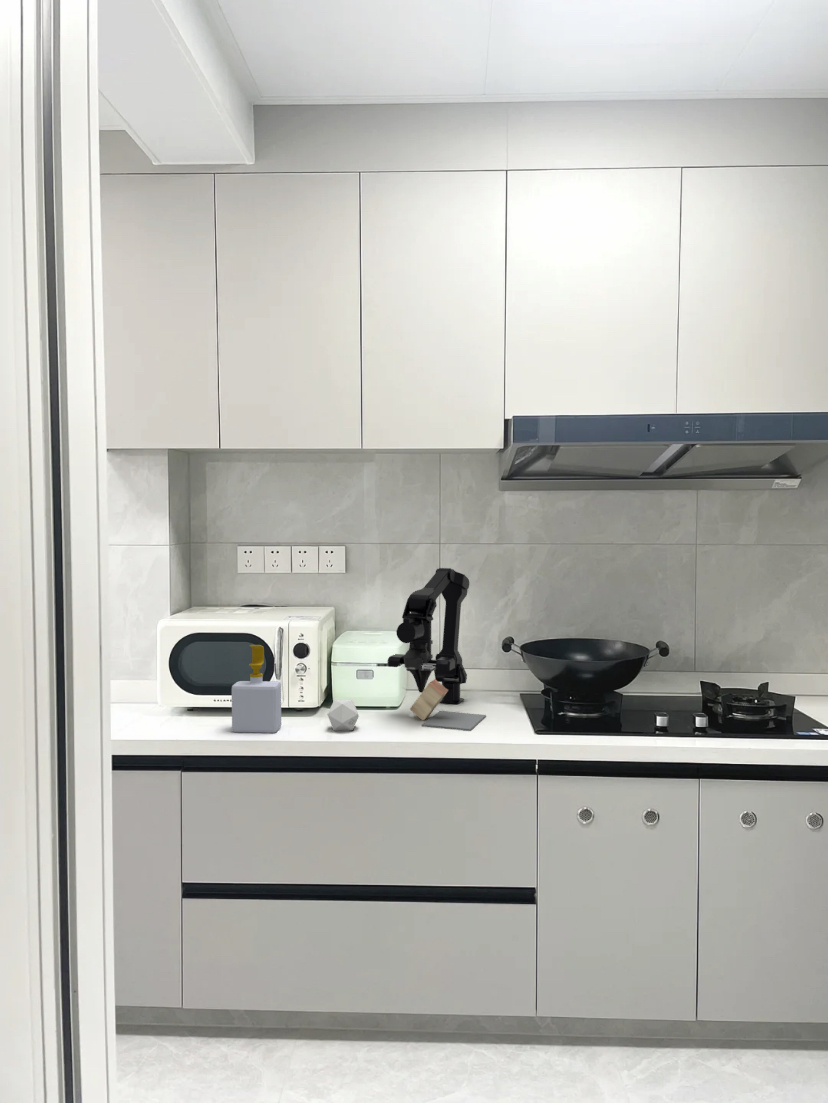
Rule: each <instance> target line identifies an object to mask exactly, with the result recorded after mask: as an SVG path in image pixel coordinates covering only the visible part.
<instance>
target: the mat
mask: <svg viewBox="0 0 828 1105" xmlns="http://www.w3.org/2000/svg"><path fill="white" fill-rule="evenodd" d="M486 717H487V715H486V714H479V713H471V712H470V713H469V712H457V711H447V710H446V711H445V710H439V711H437V712H436V713H435V714H434V715H432V716H431V717H428V718H427V720H424V722H422V723H421V727H425V728H436V729H437V728H438V729H444V730H445V729H448V730H456V731H457V730H458V731H466V732H467V731H468V732H471V731H472V730H473V729H475V728H476V727H477V726H478V725H479V724H480V723H481V722H482V721H483V720H484V719H485V718H486Z"/></svg>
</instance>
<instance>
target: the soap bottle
mask: <svg viewBox="0 0 828 1105" xmlns="http://www.w3.org/2000/svg"><path fill="white" fill-rule="evenodd" d="M249 647H250V648H251V652H252V655H251V657H252V658H251V663H249V664H248V666H249V667H250V668H251V669H252V672H251V673H250V674H249V679H250V680H240V681H237V682H235V683H234V684H232V686H231V730H232V732H233V733H254V734H255V733H264V734H268V733H269V734H273V733H274V734H275V733H277V732H278V731H279V730H280V728H282V684H281V682H280V681H266V680H265V681H263V677H264V674H263V673H262V672H260V669H262V667H263V666H262V665H264V664H265V648H264V646H263V645H261V644H249Z"/></svg>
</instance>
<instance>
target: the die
mask: <svg viewBox="0 0 828 1105" xmlns="http://www.w3.org/2000/svg"><path fill="white" fill-rule="evenodd" d="M327 716H328V719H329V722H330V725H331V727H332V730H333V731H335V732H337V731H338V732H340V731H344V732H345V731H349V730H352V731H353V730H354V728H355V726H356V723H357V722H358V720H359V717H360V715H359V713H358V709H357V707H356V704H355V702H354V700H353V699H335V700H333V702H332V704H331V706H330V708H329V710H328V712H327Z"/></svg>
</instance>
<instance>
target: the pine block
mask: <svg viewBox="0 0 828 1105" xmlns="http://www.w3.org/2000/svg"><path fill="white" fill-rule="evenodd" d="M447 692H448V690H447V689H446V688H445V687H444V686H443V685H442V683H441V682H438V681H437V680H435V678H434V679H433V680H431V681H430V682H429V683H427V684H426V686H425V688H424V691H423V692H422V693H421V692H420V693H421V694H420V695H419V696H418V697H417V699H416V700H415V702H414V703H413V704H412V705H411V706H410V708H409V710H410V711H411V712H412V713H413V714H414V715H416V716H417V717H418V718H419V719H420V720H421V721H424V722H425V721H426V719H429V718H430V716H431V715H432V713H433V711H434V710H435V709H436V708H437V706H438V705H439V704H440V701H441V700H442V698H443V697H444V696H445V694H446V693H447Z"/></svg>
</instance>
